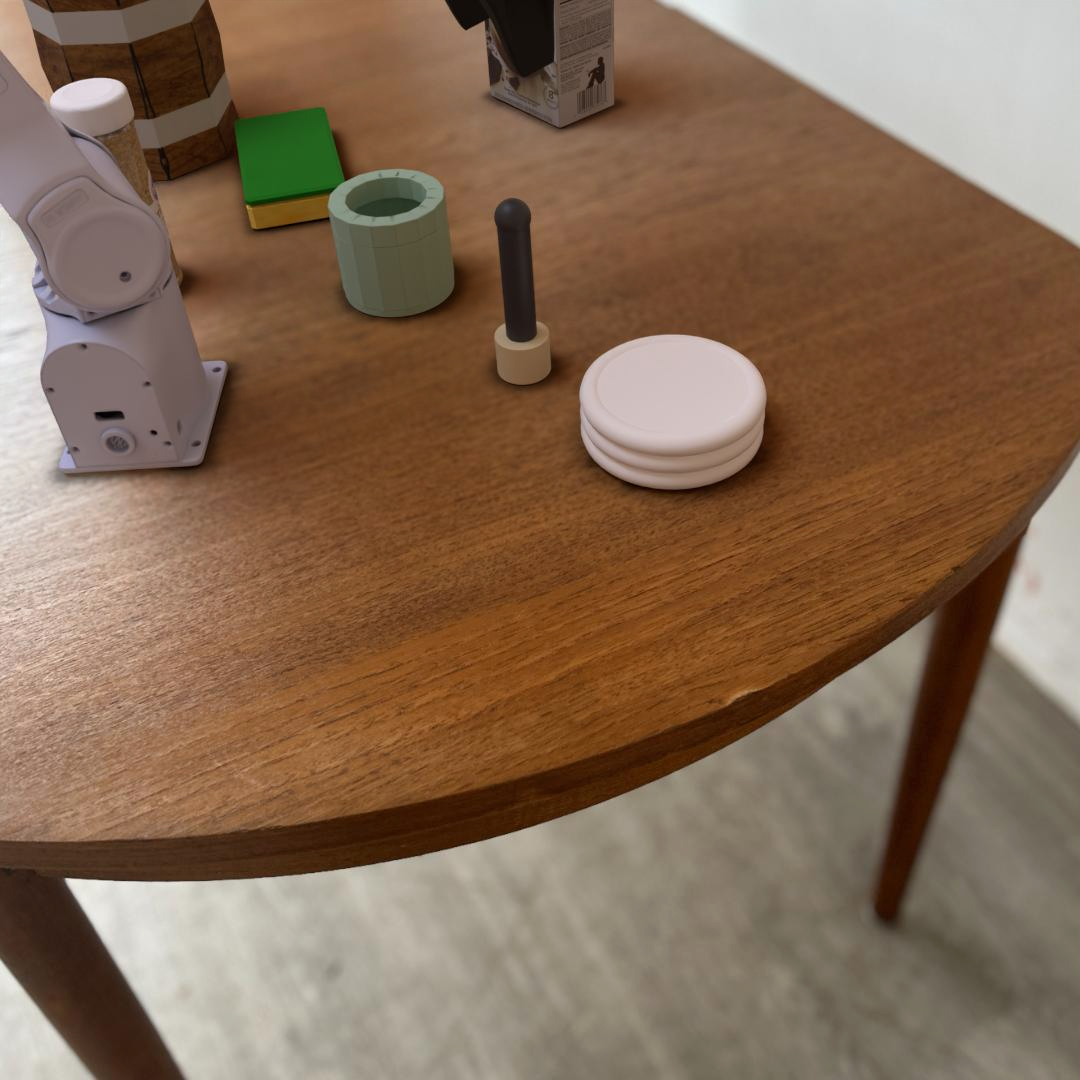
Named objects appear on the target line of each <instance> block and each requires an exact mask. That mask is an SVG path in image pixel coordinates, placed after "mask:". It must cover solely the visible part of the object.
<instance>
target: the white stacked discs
mask: <svg viewBox="0 0 1080 1080" xmlns="http://www.w3.org/2000/svg"><path fill="white" fill-rule="evenodd" d="M578 397H579V404H580V408H579V417H580V436H581V438H582V442H583V445H584V447H585V449H586V450H587V453H588V454H589V456H590V457H591V458H592V460H593V461H594V462H595V463H596V464H597V465H598V466H599V467H600V468H602V469H604V471H605V472H607V473H609V474H610V475H612V476H614V477H616V478H618V479H620V480H622V481H625V482H628V483H631V484H633V485H637V486H641V487H645V488H651V489H657V490H674V491H675V490H689V489H694V488H700V487H704V486H709V485H713V484H716V483H719V482H721V481H723V480H726V479H728V478H730V477H732V476H733V475H735V474H736V473H739V472H740V471H741V470H742V469H744V468H745V467H746V466H747V465H748V464H749V463H750V462H751V461H752V460H753V459H754V457H755V456H756V454H757V453H758V450H759V449H760V446H761V443H762V442H763V436H764V424H765V418H766V410H765V409H766V405H767V388H766V385H765V382H764V379H763V376H762V374H761V372H760V371H759V370H758V368H757V367H756V366H755V365H754V363H753V362H752V361H751V360H750V359H749V358H748V357H746V356H744V355H743V354H742V353H741V352H740V351H737V350H735V349H734V348H733V347H730V346H728V345H726V344H723V343H722V342H719V341H716V340H713V339H709V338H705V337H701V336H695V335H689V334H655V335H650V336H644V337H640V338H635V339H631V340H628V341H627V342H624V343H621V344H619V345H617V346H615V347H612V348H611V349H609V350H607V351H606V352H605V353H602V354H601V355H600V356H598V357H597V358H596V359H595V360H594V361H593V362H592V363H591V365H590V366H589V367H588V369H586V372H585V373H584V375H583V377H582V381H581V383H580V387H579V393H578Z"/></svg>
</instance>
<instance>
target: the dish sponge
mask: <svg viewBox="0 0 1080 1080" xmlns="http://www.w3.org/2000/svg"><path fill="white" fill-rule="evenodd" d="M234 125H235V133H236V146H237V153H238V160H239V168H240V174H241V182H242V190H243V196H244V203H245V206H246V210H247V213H248V214H247V215H248V218H249V223H250V227H251V228H252V229H255V230H261V229H267V228H272V227H278V226H284V225H289V224H290V225H291V224H296V223H301V222H308V221H313V220H321V219H326V218H327V219H328V218H330V216H329V211H328V202H329V197H330V194H331V193H332V192H333V191H334V190H335V189H336V188H337V187H338V186H339V185H340V184H342V183H344V182H346V181H345V176H344V173H343V169H342V165H341V161H340V158H339V154H338V150H337V148H336V144H335V139H334V136H333V133H332V129H331V125H330V121H329V118H328V114H327V110H326V107H323V106H315V107H309V108H303V109H297V110H292V111H289V110H288V111H283V112H275V113H271V114H265V115H264V114H263V115H258V116H251V117H244V118H240V119H238V120H236V121H235V122H234Z"/></svg>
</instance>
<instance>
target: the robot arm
mask: <svg viewBox="0 0 1080 1080" xmlns="http://www.w3.org/2000/svg"><path fill="white" fill-rule="evenodd" d="M444 2H445V4H446V5H447V7H448V9H449V10H450V12H451V14H452V15H453V17H454V19H455V20H456V21H457V24H459V26H460V28H462V29H463V30H464V31H468V30H470V29H472V28H474V27H476V26H477V25H479V24H482V23H483V22H485V20H487V19H489V18H490V19H491V21H492V23H493V25H494V27H495V30H496V32H497V34H498V37H499V39H500V41H501V43H502V46H503V48H504V50H505V52H506V55H507V57H508V59H509V60H510V62H511V64H512V66H513V67H514V69H515V70H516V71H517V73H518V74H519V75H520V76H522V77H527V76H529V75H531V74H532V73H534V72H536V71H538V70H540V69H542V68H544V67H546V66H547V65H549V64H551V63H553V62H554V51H555V41H554V0H444ZM0 205H1V206H2V208H3V209H4V210H5V212H6V213H7V214H8V215H9V217H10V218H11V219H12V220H13V222H15V224H16V225H17V226H18V227H19V229H20V230H21V233H22V234H23V236H24V239H25V240H26V241H27V243H28V245H29V247H30V249H31V251H32V252H33V255H34V256H35V258H36V260H35V267H34V276H33V277H32V278H31V287H32V289H33V293H34V296H35V298H36V300H37V303H38V305H39V308H40V311H41V313H42V316H43V320H44V323H45V329H46V345H45V351H44V355H43V359H42V361H41V365H40V371H39V378H40V385H41V388H42V392H43V394H44V396H45V398H46V401H47V403H48V406H49V407H50V410H51V413H52V415H53V417H54V419H55V422H56V424H57V426H58V429H59V431H60V434H61V436H62V439H63V441H64V443H65V447H64V450H63V452H62V455H61V457H60V459H59V462H58V468H59V470H60V472H61V473H63V474H81V473H96V472H113V471H115V472H116V471H129V470H146V469H162V468H164V469H165V468H180V467H194V466H195V467H196V466H198V465H200V464H202V462H203V461H204V458H205V455H206V451H207V448H208V444H209V440H210V436H211V434H212V433H211V432H212V429H213V425H214V421H215V419H216V415H217V410H218V407H219V402H220V399H221V396H222V391H223V388H224V384H225V382H226V381H225V380H226V378H227V374H228V371H229V367H228V364H227V362H226V361H224V360H207V361H203V360H202V358H201V355H200V352H199V351H200V350H199V347H198V344H197V341H196V338H195V334H194V331H193V328H192V325H191V322H190V318H189V315H188V312H187V308H186V305H185V302H184V299H183V295H182V293H181V292H182V291H181V288H180V286H179V285H178V282H177V279H176V275H175V272H174V269H173V265H172V261H171V258H170V252H171V248H170V242H171V240H170V241H169V239H170V235H169V236H168V233H167V230H166V228H165V226H164V224H163V223H162V221H161V219H160V218H159V217H158V216H157V214H156V213H155V212H154V211H153V210H152V209H151V208H150V207H149V206H148V205H147V204H146V203H145V202H143V200H142V199H141V198H140V196H139V195H138V194H137V192H136V191H135V190H134V188H133V187H132V186H131V184H130V183H129V181H128V180H127V179H126V177H125V176H124V175H123V173H122V172H121V170H120V167H119V165H118V163H117V161H116V159H115V157H114V156H113V155H112V154H111V152H110V151H109V150H108V149H107V148H106V147H105V146H104V145H103V144H102V143H101V142H99V141H98V140H96V139H95V138H93V137H91V136H89V135H87V134H85V133H82V132H80V131H78V130H75V129H74V128H72V127H70V126H69V125H67V124H66V123H65V122H63V121H62V120H61V119H60V118H59V117H58V116H57V115H56V114H55V113H54V111H53V110H52V109H51V106H50V104H48V103H47V102H46V100H44V98H42V96H41V95H40V94H39V92H37V91H36V90H35V89H34V88H33V87H32V86H31V85H30V84H29V83H28V81H27V80H26V79H25V78H24V77H23V75H22V74H21V73H20V71H19V70H18V69H17V68H16V67H15V66H14V65H13V63H12V62H11V61H10V60H9V59H8V57H7V55H5V54H4V53H3V51H2V50H1V49H0Z"/></svg>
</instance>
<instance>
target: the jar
mask: <svg viewBox="0 0 1080 1080" xmlns="http://www.w3.org/2000/svg"><path fill="white" fill-rule="evenodd" d="M328 211H329V216H330V217H329V221H330V226H331V231H332V237H333V242H334V247H335V252H336V257H337V262H338V267H339V273H340V279H341V283H342V289H343V291H344V293H345V297H346V300H347V302H348V303H349V304H350V305H351V306H352V307H353V308H354V309H356V310H357V311H359V312H362V313H363V314H367V315H369V316H374V317H380V318H381V317H382V318H401V317H402V318H403V317H409V316H414V315H417V314H421V313H425V312H426V311H429V310H431V309H434V308H435V307H437V306H439V305H440V304H441V303H443V302H445V300H447V299H448V298H449V296H450V295H451V294H452V293H453V290H454V287H455V284H456V283H455V266H454V260H453V259H454V258H453V250H452V243H451V234H450V225H449V218H448V217H449V216H448V207H447V201H446V192H445V187H444V186H443V185H442V183H441V182H440V181H439V180H438V179H437V178H436V177H435V176H432V175H429V174H428V173H425V172H422V171H420V170H414V169H406V168H395V169H394V168H391V169H379V170H375V171H374V170H373V171H369V172H366V173H361V174H358V175H356V176H353V177H352V178H350V179H348V180H346V181H345V182H344V183H342V184H340V185H339V186H338V187H337V188H336V189H335V190H334V191H333V192H332V193H331V194H330V197H329V202H328Z"/></svg>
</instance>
